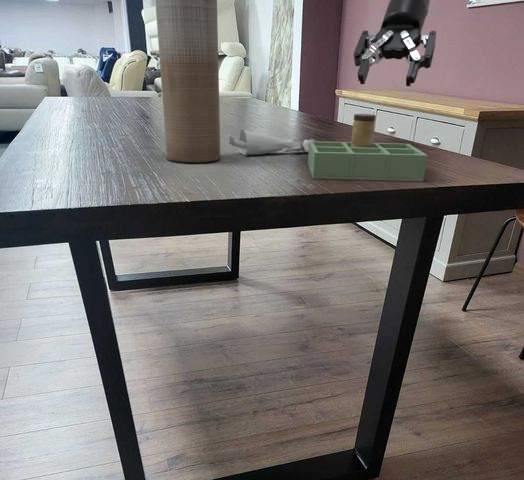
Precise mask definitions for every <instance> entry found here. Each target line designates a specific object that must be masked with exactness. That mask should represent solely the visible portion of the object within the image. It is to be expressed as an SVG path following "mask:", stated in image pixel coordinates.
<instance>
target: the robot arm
mask: <svg viewBox="0 0 524 480" xmlns="http://www.w3.org/2000/svg"><path fill="white" fill-rule="evenodd" d="M430 3H431V0H389V1H388V4H387V7H386V10H385V13H384V17H383V20H382V23H381V26H380V29H379V31H378V32H377V33H376V34H369V31H368V30H363V31H362V32H361V33H360V37H359V39H358V41H357V44H356V47H355V49H354V52H353V61H354V66H355V67H359V68H358V70H357V79H358V82H359V84H360V85H365V84H366V82H367V81H366V80H367V78H368V74H369V72H370V68H371V67H372V66H373V65H374V64H379V63H380V62H381V61H383V60H392V59H395V60H402V59H405V60H406V62H407V64H408V65H409V67H408V69H407V74H406V77H405V86H406V87H411V86H412V84H415V82H416V80H417V77H418V73H419V71H420V69H421V68H424V69H429V68H431V67H432V64H433V63H432V62H433V58H434V53H435V48H436V44H437V43H436V41H437V31H436V30H431V31H429V33H428V34H422V31H423V28H424V25H425V21H426V19H427V16H428V13H429V7H430ZM421 45H423V49H424V54H423V55H420V53H419V51H418V49H417V48H418V47H420V46H421Z"/></svg>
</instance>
